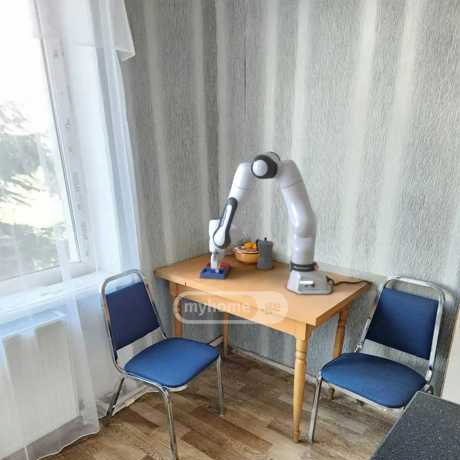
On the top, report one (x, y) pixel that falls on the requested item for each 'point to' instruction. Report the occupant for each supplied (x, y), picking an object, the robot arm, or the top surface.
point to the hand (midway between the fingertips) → (217, 271)
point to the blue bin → (212, 274)
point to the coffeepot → (264, 253)
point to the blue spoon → (215, 271)
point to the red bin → (220, 267)
